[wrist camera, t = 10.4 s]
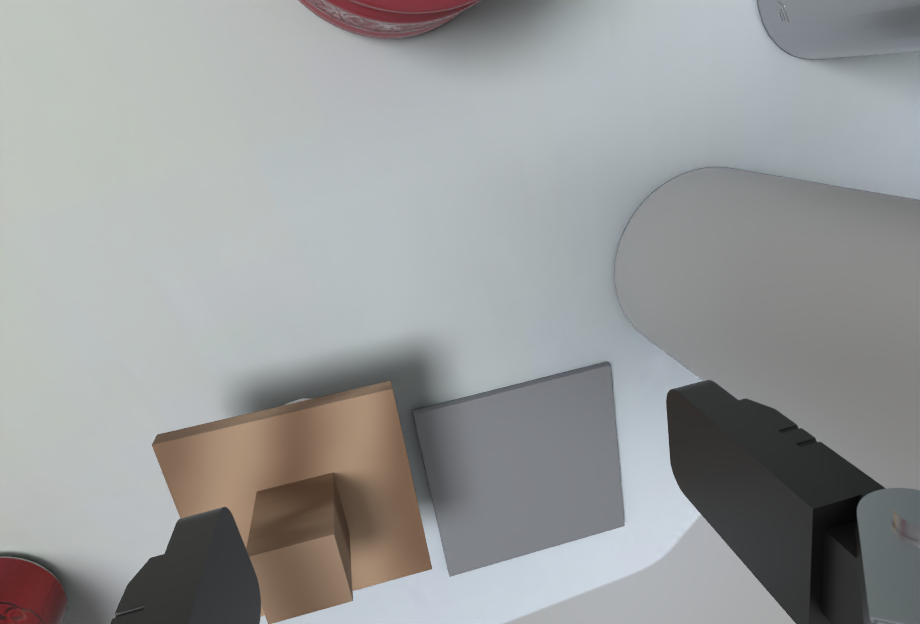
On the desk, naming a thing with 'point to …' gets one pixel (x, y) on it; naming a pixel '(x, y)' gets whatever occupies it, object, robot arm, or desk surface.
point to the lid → (307, 495)
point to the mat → (523, 467)
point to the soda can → (29, 593)
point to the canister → (388, 15)
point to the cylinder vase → (788, 303)
